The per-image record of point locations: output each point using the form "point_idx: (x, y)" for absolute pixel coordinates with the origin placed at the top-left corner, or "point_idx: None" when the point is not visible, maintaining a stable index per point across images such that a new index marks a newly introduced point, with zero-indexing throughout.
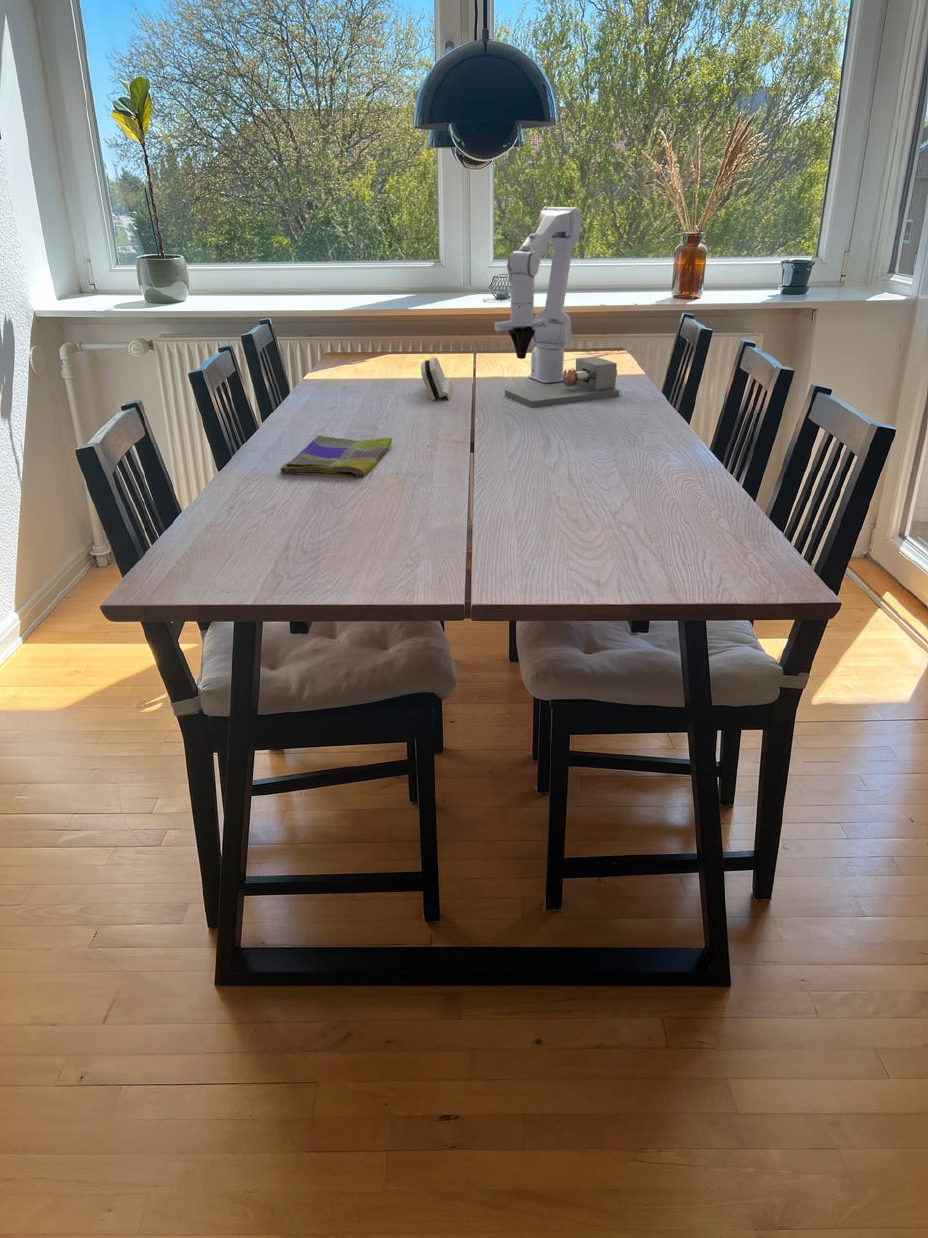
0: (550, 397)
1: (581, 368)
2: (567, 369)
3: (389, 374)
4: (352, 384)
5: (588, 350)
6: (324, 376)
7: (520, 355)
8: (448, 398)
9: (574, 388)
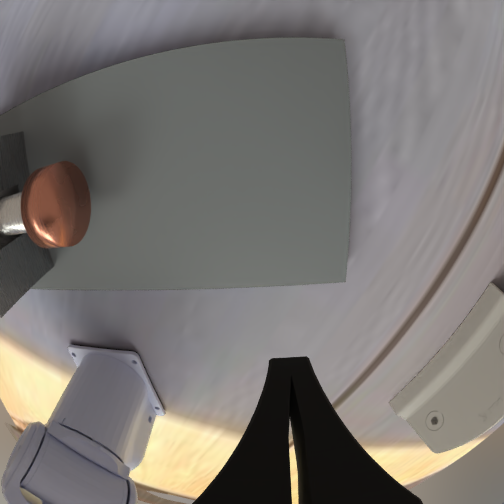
0: (224, 64)
1: (3, 258)
2: (45, 219)
3: (405, 461)
4: None
5: None
6: (468, 448)
7: (313, 373)
8: (495, 285)
9: None
